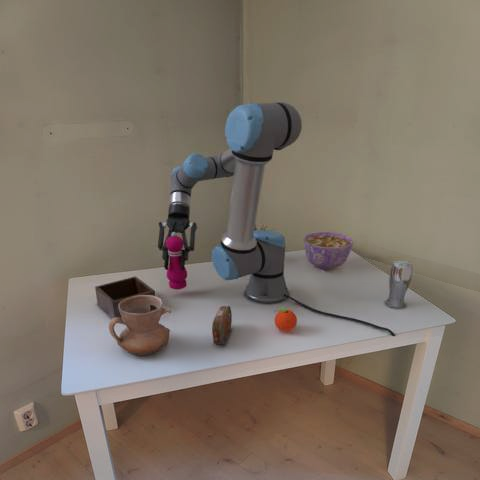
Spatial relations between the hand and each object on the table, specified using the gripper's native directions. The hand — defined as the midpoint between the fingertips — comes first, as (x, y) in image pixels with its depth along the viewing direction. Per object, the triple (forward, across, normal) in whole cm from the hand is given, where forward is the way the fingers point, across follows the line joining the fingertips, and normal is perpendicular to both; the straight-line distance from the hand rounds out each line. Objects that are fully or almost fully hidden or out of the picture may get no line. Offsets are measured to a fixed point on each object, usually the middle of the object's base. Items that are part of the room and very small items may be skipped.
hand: (174, 268), depth 156 cm
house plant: (-17, -28, -34) cm, 47 cm away
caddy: (+13, +16, -4) cm, 21 cm away
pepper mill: (+3, 0, -9) cm, 9 cm away
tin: (+26, -19, +9) cm, 33 cm away
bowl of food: (-16, -56, -33) cm, 67 cm away
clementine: (+22, -38, +5) cm, 44 cm away
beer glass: (+8, -77, -9) cm, 78 cm away
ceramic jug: (+31, +4, +14) cm, 34 cm away
